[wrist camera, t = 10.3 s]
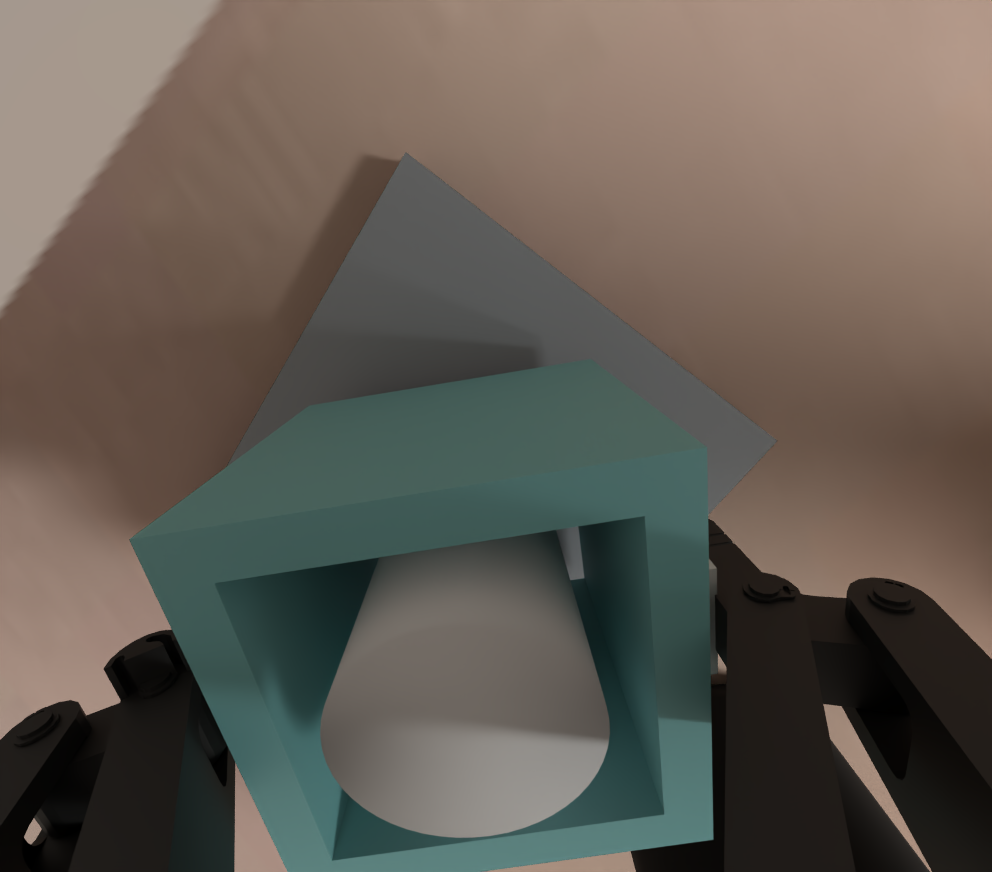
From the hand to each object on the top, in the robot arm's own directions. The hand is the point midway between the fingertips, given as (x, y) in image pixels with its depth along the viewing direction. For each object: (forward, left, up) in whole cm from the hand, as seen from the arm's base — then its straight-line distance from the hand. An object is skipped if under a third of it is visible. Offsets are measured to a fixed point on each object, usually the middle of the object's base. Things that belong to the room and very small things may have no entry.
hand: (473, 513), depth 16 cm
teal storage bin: (0, 0, 0) cm, 0 cm away
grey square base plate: (0, 0, -3) cm, 3 cm away
